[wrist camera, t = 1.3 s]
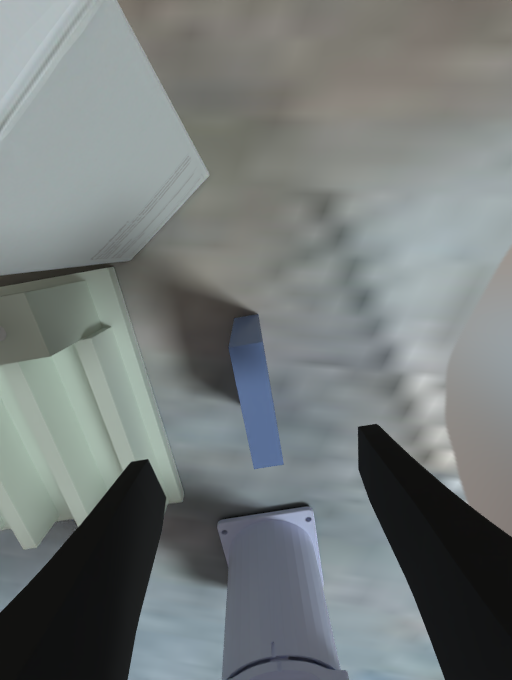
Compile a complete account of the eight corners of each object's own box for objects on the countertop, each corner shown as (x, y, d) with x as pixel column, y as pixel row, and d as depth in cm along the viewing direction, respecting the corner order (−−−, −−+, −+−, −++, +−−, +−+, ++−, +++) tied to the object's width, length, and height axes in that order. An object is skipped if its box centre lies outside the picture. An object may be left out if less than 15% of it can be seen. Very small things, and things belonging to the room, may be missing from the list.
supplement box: (110, 55, 15) (-508, -821, 3) (213, 176, 17) (119, -19, 4) (24, 164, 16) (-643, -88, 4) (128, 266, 18) (-121, 301, 6)
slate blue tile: (274, 406, 21) (283, 464, 15) (252, 409, 21) (254, 469, 15) (258, 313, 19) (262, 341, 13) (234, 318, 19) (228, 347, 13)
